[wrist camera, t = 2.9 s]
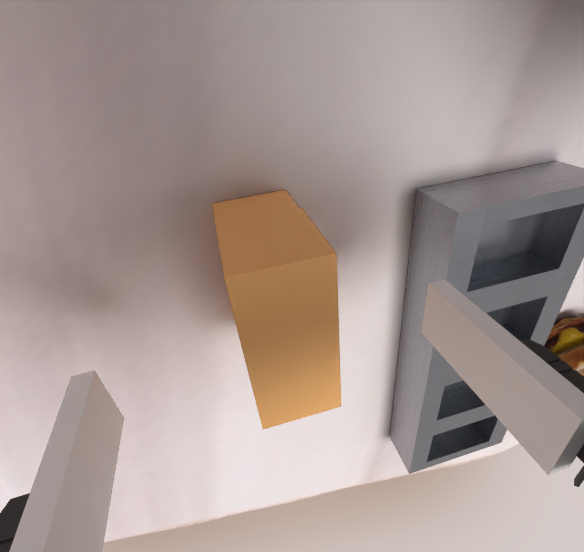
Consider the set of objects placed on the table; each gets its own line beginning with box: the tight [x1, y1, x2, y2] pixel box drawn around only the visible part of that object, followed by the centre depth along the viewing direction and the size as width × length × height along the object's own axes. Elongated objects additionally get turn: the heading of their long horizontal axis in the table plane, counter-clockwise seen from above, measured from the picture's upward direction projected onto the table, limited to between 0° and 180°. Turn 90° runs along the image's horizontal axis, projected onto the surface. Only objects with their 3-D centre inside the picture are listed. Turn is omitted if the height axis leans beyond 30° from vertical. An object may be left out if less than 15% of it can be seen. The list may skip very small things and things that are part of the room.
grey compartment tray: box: [390, 161, 584, 474], centre depth 24 cm, size 24×9×4 cm, turn 7°
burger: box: [544, 317, 584, 376], centre depth 29 cm, size 10×9×5 cm
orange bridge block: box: [212, 190, 341, 429], centre depth 16 cm, size 8×4×7 cm, turn 7°
